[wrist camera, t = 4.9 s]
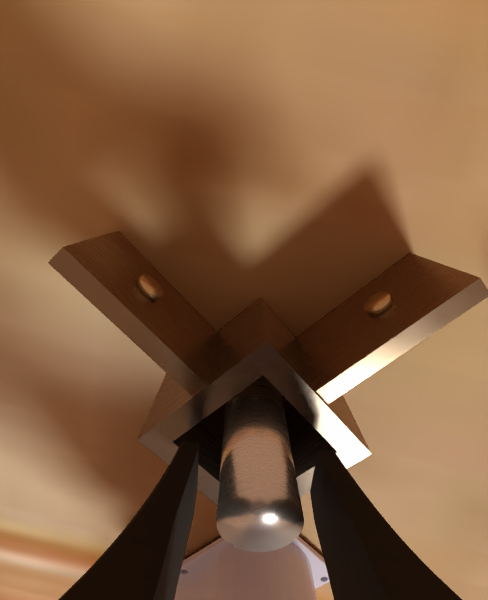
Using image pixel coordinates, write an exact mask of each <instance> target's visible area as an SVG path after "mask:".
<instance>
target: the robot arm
mask: <svg viewBox="0 0 488 600" xmlns="http://www.w3.org/2000/svg"><path fill="white" fill-rule="evenodd" d="M198 461H199V443H191V442H182V443H181V444H180V445H179V448H178V450H177V452H176V454H175V456H174V457H173V459H172V461H171V463H170V465H169V466H168V468H167V470H166V471H165V473H164V475H163V476H162V478H161V479H160V481H159V482H158V484H157V485H156V487H155V489H154V490H153V492H152V493H151V494H150V496H149V497H148V499H147V500H146V501H145V503H144V504H143V506H142V507H141V508H140V510H139V511H138V512H137V514H136V515H135V516H134V518H133V519H132V520H131V522H130V523H129V524H128V525H127V527H126V528H125V529H124V530H123V532H122V533H121V534H120V535H119V536H118V538H117V539H116V540H115V541H114V542H113V543H112V545H111V546H110V547H109V548H108V549H107V550H106V551H105V552H104V553H103V555H102V556H101V557H100V558H99V559H98V560H97V561H96V562H95V563H94V565H93V566H92V567H91V568H90V569H89V570H88V571H87V572H86V573H85V574H84V575H83V576H82V577H81V578H80V579H79V580H78V581H77V582H76V583H75V584H74V585H73V586H72V587H71V588H70V589H69V590H68V591H67V592H66V593H65V594H64V595H63V596H62V597H61V598H60V599H59V600H317V597H316V591H315V589H316V588H318V587H320V586H322V585H324V584H326V583H328V582H330V584H331V588H332V592H333V596H334V600H462V599H461V598H460V597H459V596H458V595H456V594H455V593H454V592H453V591H452V590H451V589H450V588H449V587H448V586H447V585H446V584H445V583H444V582H443V581H442V580H441V579H439V578H438V577H437V576H436V575H435V574H434V573H433V572H432V571H431V570H430V569H429V568H428V567H427V566H426V565H425V564H424V563H423V562H422V561H421V560H420V559H419V558H418V556H417V555H416V554H415V553H414V552H413V551H412V550H411V549H410V548H409V547H408V546H407V545H406V544H405V542H404V541H403V540H402V539H401V538H400V537H399V536H398V535H397V533H396V532H395V531H394V530H393V529H392V528H391V526H390V525H389V524H388V523H387V522H386V520H385V519H384V518H383V517H382V516H381V514H380V513H379V512H378V511H377V509H376V508H375V507H374V505H373V504H372V503H371V502H370V500H369V499H368V498H367V496H366V495H365V494H364V492H363V491H362V490H361V488H360V487H359V486H358V484H357V483H356V482H355V480H354V479H353V477H352V476H351V475H350V473H349V472H348V470H347V469H346V467H345V466H344V465H343V463H342V462H341V460H340V459H339V457H338V456H337V454H336V453H335V452H334V451H324V450H318V452H317V457H316V462H315V468H314V473H313V478H312V483H311V489H310V493H311V500H312V508H313V514H314V520H315V525H316V529H317V533H318V537H319V541H320V545H321V549H322V553H323V557H324V558H323V557H322V556H321V555H320V554H319V553H317V552H316V551H315V550H314V549H313V548H312V547H311V546H309V545H308V544H307V543H306V542H305V541H304V540H303V539H301V538H300V537H299V536H298V537H297V538H296V539H295V540H294V541H293V542H292V543H290V544H289V545H287V546H285V547H283V548H280V549H278V550H274V551H269V552H250V551H245V550H241V549H238V548H236V547H234V546H232V545H230V544H229V543H227V542H226V541H225V540H224V539H223V538H222V537H221V538H219V539H218V540H216V541H214V542H213V543H211V544H210V545H208V546H206V547H205V548H203V549H201V550H200V551H198V552H197V553H195V554H193V555H192V556H190V557H189V558H187V559H185V560H184V561H183V558H184V554H185V550H186V545H187V541H188V537H189V532H190V528H191V523H192V519H193V514H194V507H195V500H196V493H197V485H198Z"/></svg>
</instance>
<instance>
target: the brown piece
mask: <svg viewBox="0 0 488 600" xmlns="http://www.w3.org/2000/svg"><path fill="white" fill-rule="evenodd" d="M48 263H49V264H50V265H51V266H52V267H53V268H54V269H55V270H56V271H58V272H59V273H60V274H61V275H62V276H63V277H64V278H65V279H66V280H67V281H68V282H69V283H70V284H72V285H73V286H74V287H75V288H76V289H77V290H78V291H79V292H80V293H81V294H82V295H83V296H84V297H86V298H87V299H88V300H89V301H90V302H91V303H92V304H93V305H94V306H95V307H96V308H97V309H99V310H100V311H101V312H102V313H103V314H104V315H105V316H106V317H107V318H108V319H109V320H110V321H111V322H113V323H114V324H115V325H116V326H117V327H118V328H119V329H120V330H121V331H122V332H123V333H124V334H125V335H127V336H128V337H129V338H130V339H131V340H132V341H133V342H134V343H135V344H136V345H137V346H138V347H139V348H141V349H142V350H143V351H144V352H145V353H146V354H147V355H148V356H149V357H150V358H151V359H152V360H153V361H155V362H156V363H157V364H158V365H159V366H160V367H161V368H162V369H163V370H164V371H165V372H166V376H165V378H164V380H163V382H162V385H161V387H160V389H159V392H158V394H157V396H156V399H155V401H154V403H153V405H152V408H151V410H150V412H149V415H148V417H147V419H146V422H145V424H144V426H143V428H142V431H141V433H140V435H139V438H138V441H140V442H141V443H142V444H143V445H144V446H146V447H147V448H148V449H149V450H150V451H152V452H153V453H154V454H155V455H157V456H158V457H159V458H160V459H161V460H163V461H164V462H165V463H166V464H167V465H170V463H171V461H172V459H173V457H174V456H175V454H176V452H177V450H178V448H179V445H180V444H181V443H182V442H191V443H199V461H198V485H197V489H198V490H199V491H200V492H201V493H202V494H204V495H205V496H206V497H207V498H208V499H210V500H211V501H212V502H213V503H214V504H216V505H217V506H218V494H219V482H220V469H221V457H222V444H223V432H224V419H225V406H224V405H223V404H225V403H226V402H227V401H229V400H230V399H231V398H233V397H234V396H235V395H237V394H238V393H240V392H241V391H242V390H244V389H245V388H246V387H248V386H249V385H250V384H252V383H253V382H254V381H256V380H257V379H259V378H260V377H261V376H263V375H264V376H265V377H266V378H267V379H268V380H269V381H270V383H271V384H272V385H273V386H274V387H275V388H276V389H277V390H278V391H279V392H280V393H281V394H282V395H283V396H284V397H285V398H286V399H287V401H285V402H284V403H283V407H284V413H285V418H286V424H287V429H288V435H289V440H290V446H291V451H292V457H293V462H294V468H295V473H296V479H297V484H298V490H299V495H300V497H302V496H303V495H305V494H306V493H308V492H310V489H311V483H312V478H313V473H314V468H315V462H316V457H317V452H318V450H324V451H334V452H335V453H336V454H337V456H338V457H339V459H340V460H341V462H342V463H343V465H344V466H345V467H346V469H347V468H349V467H351V466H352V465H354V464H356V463H357V462H359V461H361V460H362V459H364V458H366V457H367V456H369V455H370V454H371V452H370V450H369V448H368V446H367V444H366V442H365V440H364V438H363V436H362V434H361V431H360V429H359V427H358V425H357V423H356V421H355V419H354V417H353V415H352V413H351V411H350V409H349V407H348V405H347V403H346V401H345V399H344V397H343V394H344V393H345V392H347V391H348V390H350V389H351V388H353V387H354V386H356V385H357V384H359V383H360V382H362V381H363V380H365V379H366V378H368V377H369V376H371V375H372V374H374V373H375V372H377V371H378V370H380V369H381V368H383V367H384V366H386V365H387V364H389V363H390V362H392V361H393V360H395V359H396V358H398V357H399V356H400V355H402V354H403V353H405V352H406V351H408V350H409V349H411V348H412V347H414V346H415V345H417V344H418V343H420V342H421V341H423V340H424V339H426V338H427V337H429V336H430V335H432V334H433V333H435V332H436V331H438V330H439V329H441V328H442V327H444V326H445V325H447V324H448V323H450V322H451V321H453V320H454V319H456V318H457V317H458V316H460V315H461V314H463V313H464V312H466V311H467V310H469V309H470V308H472V307H473V306H475V305H476V304H478V303H479V302H481V301H482V300H484V299H485V298H487V297H488V289H487V288H486V286H485V285H484V283H483V282H482V280H481V278H479V277H476V276H474V275H471V274H468V273H465V272H462V271H459V270H457V269H454V268H451V267H448V266H445V265H443V264H440V263H437V262H434V261H431V260H429V259H426V258H423V257H420V256H417V255H414V254H412V253H409V254H408V255H406V256H405V257H404V258H402V259H401V260H400V261H398V262H397V263H396V264H394V265H393V266H392V267H390V268H389V269H388V270H386V271H385V272H384V273H382V274H381V275H380V276H378V277H377V278H376V279H374V280H373V281H372V282H370V283H369V284H368V285H366V286H365V287H364V288H362V289H361V290H360V291H358V292H357V293H355V294H354V295H353V296H351V297H350V298H349V299H347V300H346V301H345V302H343V303H342V304H341V305H339V306H338V307H337V308H335V309H334V310H333V311H331V312H330V313H329V314H327V315H326V316H325V317H323V318H322V319H321V320H319V321H318V322H317V323H315V324H314V325H313V326H311V327H310V328H309V329H307V330H306V331H305V332H303V333H302V334H301V335H299V336H298V337H297V338H296V337H295V336H294V335H293V334H292V333H291V331H290V330H289V329H288V328H287V327H286V326H285V325H284V324H283V322H282V321H281V320H280V319H279V318H278V317H277V316H276V315H275V313H274V312H273V311H272V310H271V309H270V308H269V307H268V306H267V304H266V303H265V302H264V301H263V300H262V299H261V298H259V299H258V300H257V301H255V302H254V303H253V304H252V305H250V306H249V307H248V308H247V309H245V310H244V311H243V312H242V313H240V314H239V315H238V316H237V317H235V318H234V319H233V320H232V321H231V322H229V323H228V324H227V325H226V326H224V327H223V328H222V329H221V330H219V331H218V332H216V331H215V330H214V329H213V328H212V327H211V326H210V325H209V324H208V323H207V322H206V321H205V320H204V319H203V318H202V317H201V315H200V314H199V313H198V312H197V311H196V310H195V309H194V308H193V307H192V306H191V305H190V304H189V303H188V302H187V301H186V300H185V299H184V298H183V297H182V296H181V295H180V294H179V293H178V292H177V291H176V290H175V289H174V288H173V287H172V286H171V285H170V284H169V283H168V282H167V281H166V280H165V278H164V277H163V276H162V275H161V274H160V273H159V272H158V271H157V270H156V269H155V268H154V267H153V266H152V265H151V264H150V263H149V262H148V261H147V260H146V259H145V258H144V257H143V256H142V255H141V254H140V253H139V252H138V251H137V250H136V249H135V248H134V247H133V246H132V245H131V244H130V243H129V241H128V240H127V239H126V238H125V237H124V236H123V235H122V234H121V233H120V232H119V231H117V232H113V233H110V234H106V235H103V236H99V237H96V238H93V239H89V240H86V241H82V242H79V243H76V244H72V245H69V246H65V247H63V248H62V249H61V250H60V251H59V252H58V253H57V254H56V255H55V256H54V257H53V258H52V259H51V260H50V261H49V262H48Z"/></svg>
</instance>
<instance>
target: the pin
mask: <svg viewBox="0 0 488 600" xmlns="http://www.w3.org/2000/svg"><path fill="white" fill-rule="evenodd" d="M216 525H217V529H218V532H219V534H220V535H221V537H222V538H223V539H224V540H225V541H226V542H227V543H229V544H230V545H232V546H234V547H236V548H238V549H241V550H245V551H250V552H269V551H274V550H278V549H280V548H283V547H285V546H287V545H289V544H290V543H292V542H293V541H294V540H295V539H296V538H297V537H298V536H299V534H300V533H301V531H302V529H303V525H304V517H303V512H302V506H301V501H300V495H299V490H298V484H297V479H296V473H295V468H294V462H293V457H292V451H291V446H290V440H289V435H288V429H287V424H286V418H285V413H284V407H283V401H282V396H281V393H280V392H279V391H278V390H277V389H276V388H275V387H274V386H273V385H272V384H271V383H270V381H269V380H268V379H267V378H266V377H265V376H264V375H263V376H261V377H260V378H259V379H257V380H256V381H254V382H253V383H252V384H250V385H249V386H248V387H246V388H245V389H244V390H242V391H241V392H240V393H238V394H237V395H235V396H234V397H233V398H231V399H230V400H229V401H227V402H226V407H225V419H224V432H223V444H222V457H221V469H220V482H219V494H218V507H217V519H216Z"/></svg>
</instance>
